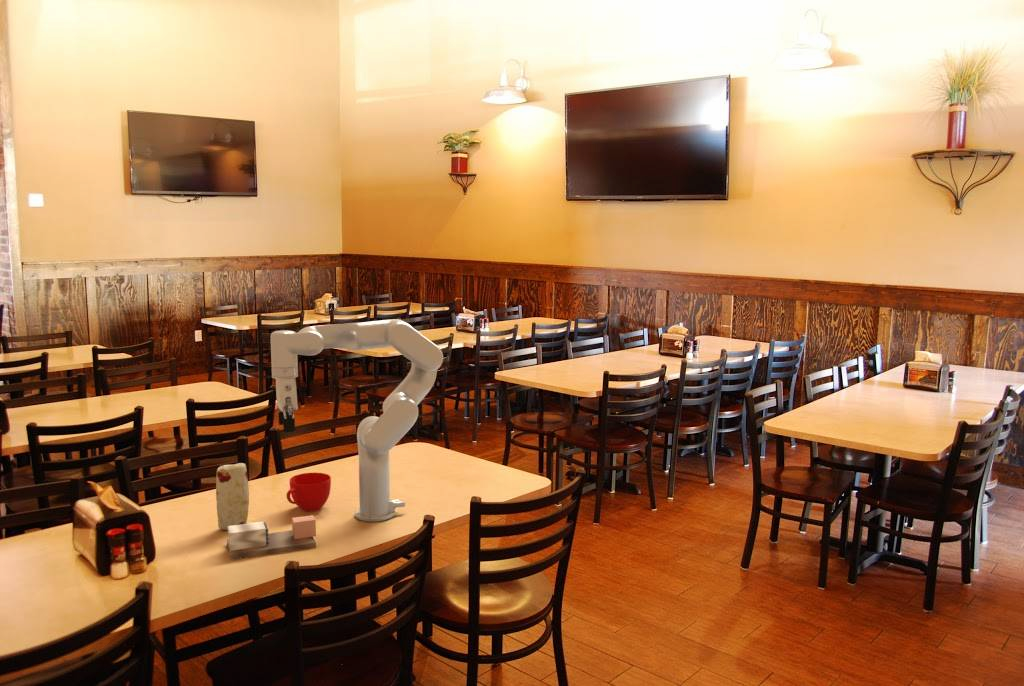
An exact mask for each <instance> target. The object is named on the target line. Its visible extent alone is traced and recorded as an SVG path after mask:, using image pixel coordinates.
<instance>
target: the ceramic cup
mask: <svg viewBox="0 0 1024 686" xmlns="http://www.w3.org/2000/svg"><path fill="white" fill-rule="evenodd" d="M331 486H332V477H331V475H329V474H327V473H324V472H304V473H299V474H296V475H294V476H291V477H290V478H289V489H288V490H287V492H286V499H287V501H288V502H289V503H290V504H293V505H296V506H297V507H298V508H299V509H300V510H301V511H302V512H317V511H319V510H321V509H322V508H323V506H324V505H325V504H326V503H327V501H328V499H329V497H330V494H331ZM291 497H292V498H291Z"/></svg>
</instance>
